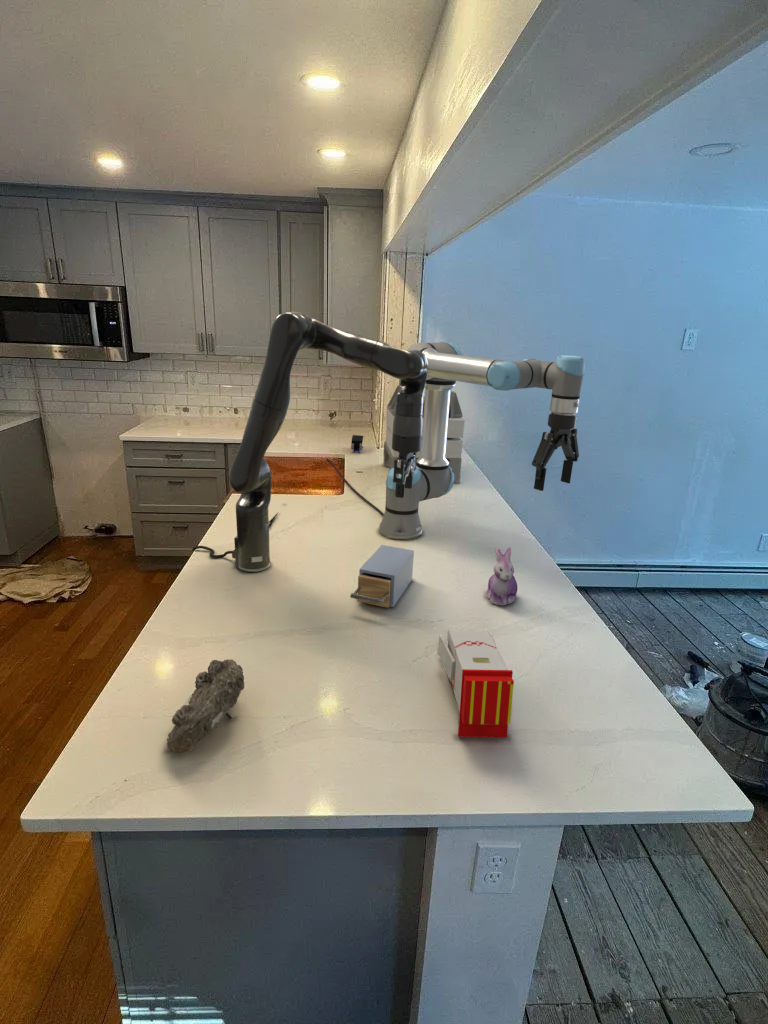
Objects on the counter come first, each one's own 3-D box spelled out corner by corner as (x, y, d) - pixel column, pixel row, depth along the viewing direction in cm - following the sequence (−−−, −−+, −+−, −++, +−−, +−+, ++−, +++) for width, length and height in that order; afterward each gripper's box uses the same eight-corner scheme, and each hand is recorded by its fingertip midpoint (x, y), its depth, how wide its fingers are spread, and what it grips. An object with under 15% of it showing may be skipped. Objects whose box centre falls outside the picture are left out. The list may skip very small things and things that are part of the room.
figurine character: (362, 456, 306) (363, 447, 319) (363, 443, 302) (363, 434, 316) (350, 456, 306) (351, 446, 319) (350, 442, 302) (351, 433, 316)
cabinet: (392, 607, 151) (394, 575, 147) (358, 600, 154) (359, 568, 150) (412, 579, 167) (414, 550, 163) (380, 573, 169) (381, 544, 166)
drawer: (381, 617, 144) (383, 590, 141) (350, 610, 146) (350, 584, 144) (406, 581, 163) (408, 557, 161) (378, 575, 166) (379, 552, 163)
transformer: (382, 463, 289) (386, 382, 275) (445, 464, 293) (451, 384, 279) (390, 482, 257) (394, 392, 243) (460, 483, 261) (468, 394, 247)
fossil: (192, 660, 117) (244, 628, 112) (224, 691, 120) (276, 661, 115) (142, 746, 98) (202, 712, 93) (182, 779, 101) (242, 748, 96)
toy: (488, 613, 130) (523, 677, 101) (484, 667, 133) (517, 744, 104) (435, 612, 130) (455, 676, 101) (432, 666, 133) (451, 743, 103)
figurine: (499, 610, 151) (506, 558, 146) (476, 593, 160) (482, 544, 155) (527, 603, 156) (534, 553, 151) (503, 587, 164) (509, 539, 159)
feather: (285, 507, 224) (287, 503, 224) (267, 531, 198) (270, 526, 197) (281, 504, 224) (284, 500, 223) (263, 528, 197) (265, 524, 197)
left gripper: (400, 425, 151) (397, 483, 157) (385, 435, 138) (382, 498, 144) (427, 428, 149) (423, 487, 155) (415, 438, 136) (411, 502, 142)
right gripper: (548, 419, 148) (537, 496, 155) (598, 411, 163) (586, 482, 171) (525, 414, 153) (515, 489, 160) (575, 407, 169) (564, 476, 176)
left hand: (403, 492), depth 149 cm, fingers open, 8 cm apart
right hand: (552, 485), depth 166 cm, fingers open, 13 cm apart
